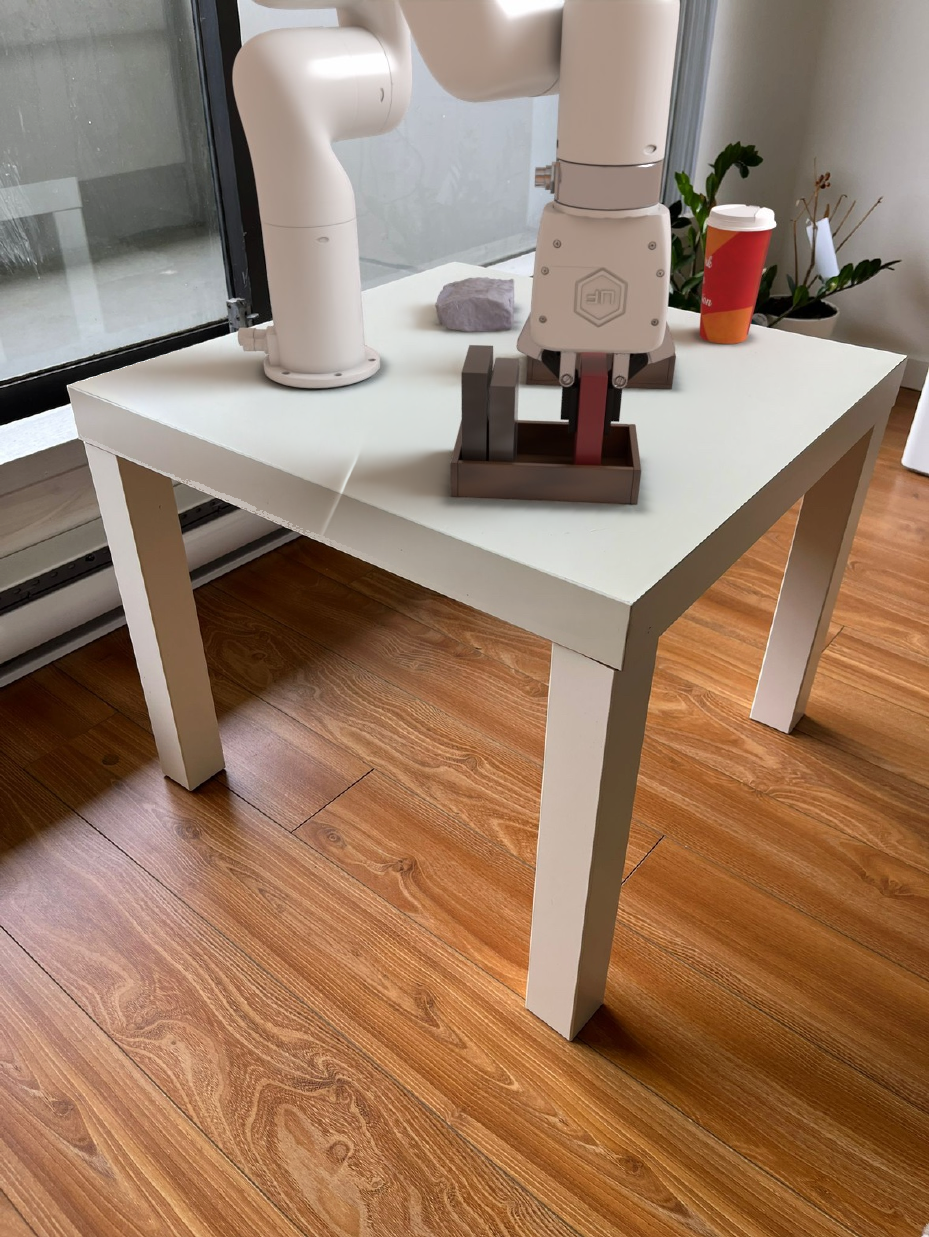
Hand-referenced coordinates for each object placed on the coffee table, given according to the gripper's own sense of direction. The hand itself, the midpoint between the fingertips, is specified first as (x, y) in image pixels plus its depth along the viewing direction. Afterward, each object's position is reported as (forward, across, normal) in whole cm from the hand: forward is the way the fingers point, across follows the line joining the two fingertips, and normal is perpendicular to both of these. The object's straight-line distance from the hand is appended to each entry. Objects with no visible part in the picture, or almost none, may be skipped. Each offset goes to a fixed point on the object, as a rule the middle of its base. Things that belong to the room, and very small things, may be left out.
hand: (588, 426), depth 77 cm
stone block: (+5, -13, +45) cm, 47 cm away
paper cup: (+5, +17, +40) cm, 44 cm away
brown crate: (+5, -3, 0) cm, 6 cm away
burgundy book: (+5, 0, 0) cm, 5 cm away
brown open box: (+5, +2, +27) cm, 28 cm away
